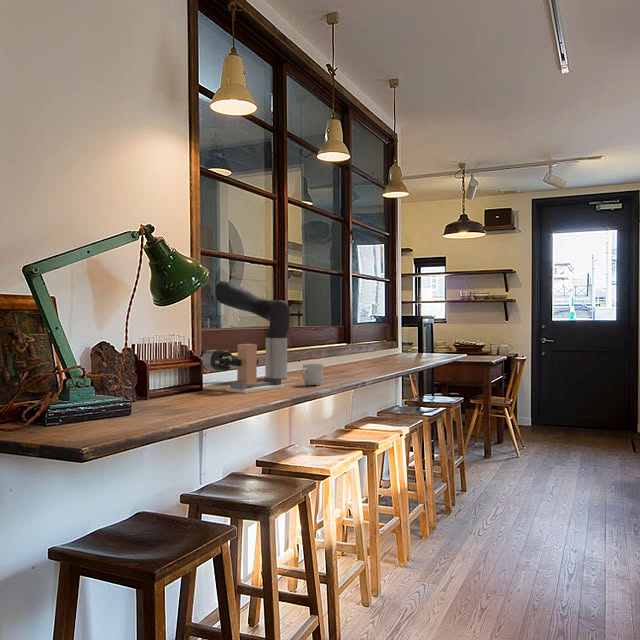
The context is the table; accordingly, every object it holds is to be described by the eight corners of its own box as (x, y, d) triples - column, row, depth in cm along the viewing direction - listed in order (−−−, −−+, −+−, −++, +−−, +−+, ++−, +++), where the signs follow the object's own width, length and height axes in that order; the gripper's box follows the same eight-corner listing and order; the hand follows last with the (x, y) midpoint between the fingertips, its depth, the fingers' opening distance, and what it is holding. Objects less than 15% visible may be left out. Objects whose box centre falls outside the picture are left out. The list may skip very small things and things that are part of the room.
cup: (311, 387, 223) (311, 365, 223) (294, 385, 228) (294, 364, 228) (327, 384, 232) (327, 364, 232) (310, 383, 237) (310, 363, 237)
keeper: (246, 385, 208) (246, 344, 208) (237, 384, 211) (237, 344, 211) (256, 383, 212) (256, 344, 212) (247, 383, 215) (247, 343, 215)
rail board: (245, 393, 205) (245, 382, 205) (226, 391, 210) (226, 381, 210) (284, 387, 221) (285, 378, 221) (266, 385, 227) (266, 376, 227)
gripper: (202, 350, 215) (235, 352, 205) (231, 349, 226) (263, 350, 217) (202, 371, 215) (235, 374, 205) (231, 369, 226) (263, 371, 217)
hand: (249, 362), depth 211 cm, fingers open, 8 cm apart
